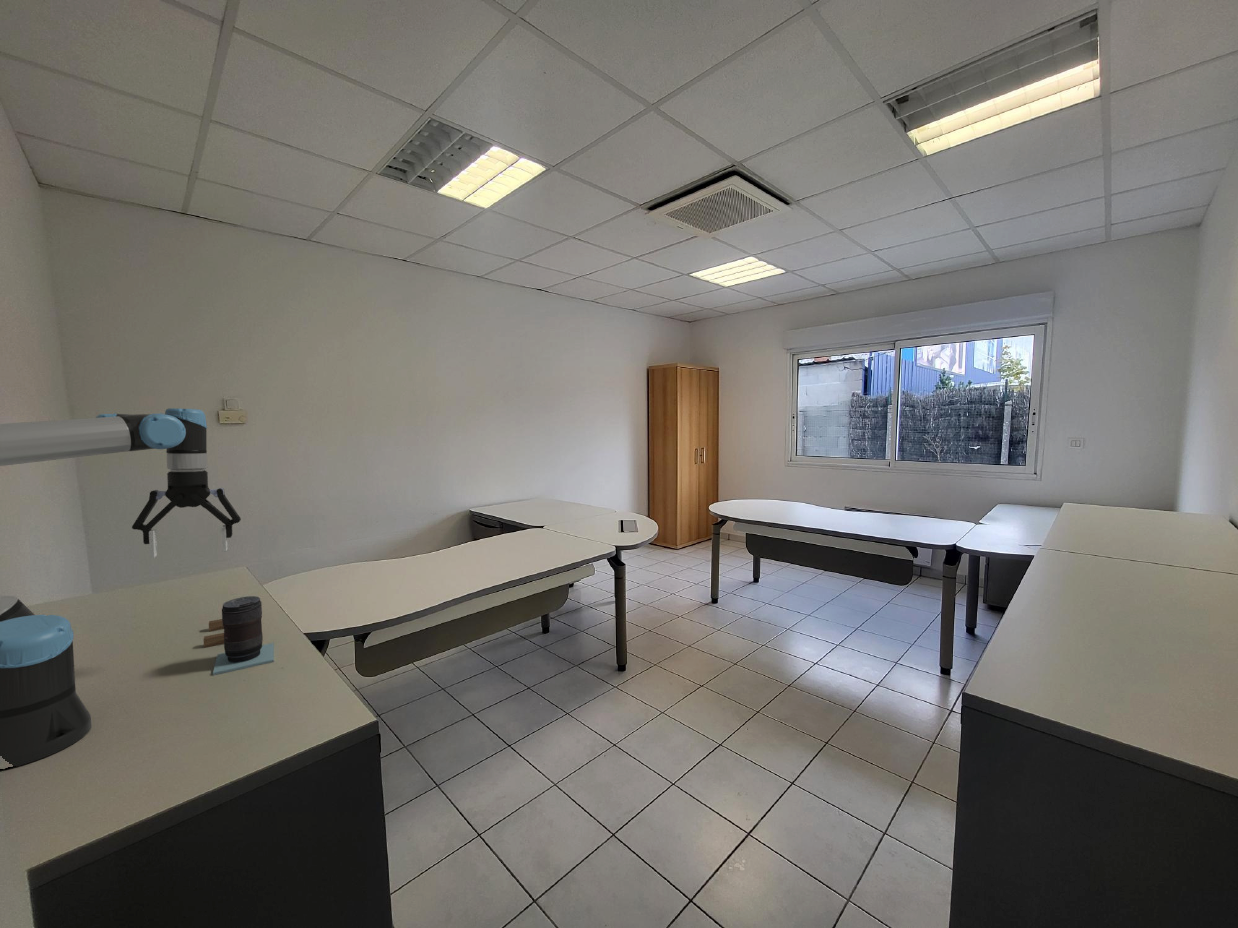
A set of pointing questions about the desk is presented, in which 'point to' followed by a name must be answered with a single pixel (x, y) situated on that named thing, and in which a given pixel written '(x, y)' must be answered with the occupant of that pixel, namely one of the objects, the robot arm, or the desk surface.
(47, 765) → the desk surface
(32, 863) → the desk surface
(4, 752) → the robot arm
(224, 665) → the mat
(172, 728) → the desk surface
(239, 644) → the camera lens
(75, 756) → the desk surface
